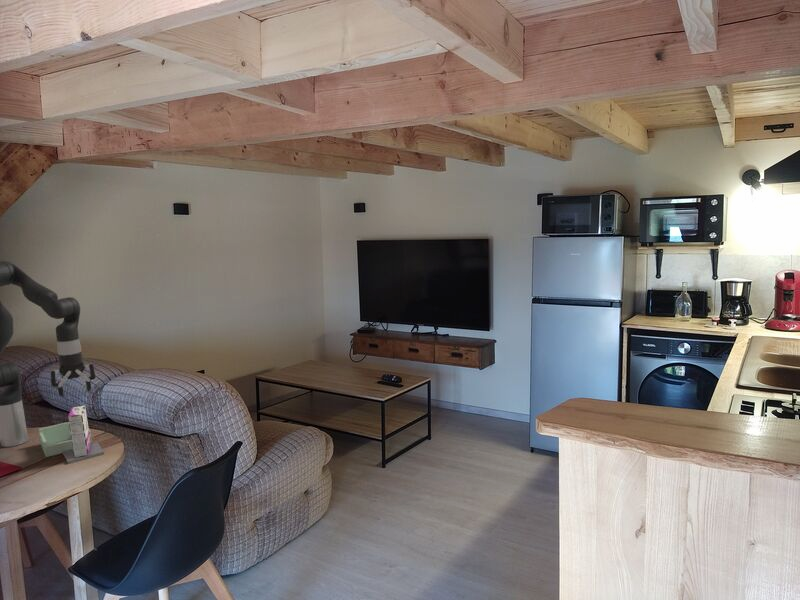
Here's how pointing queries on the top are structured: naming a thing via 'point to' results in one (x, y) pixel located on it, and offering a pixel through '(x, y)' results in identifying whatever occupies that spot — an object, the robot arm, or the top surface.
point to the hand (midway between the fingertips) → (75, 393)
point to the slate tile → (94, 451)
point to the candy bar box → (79, 431)
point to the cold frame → (56, 439)
